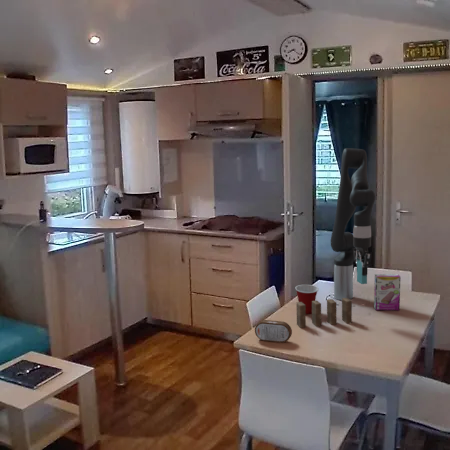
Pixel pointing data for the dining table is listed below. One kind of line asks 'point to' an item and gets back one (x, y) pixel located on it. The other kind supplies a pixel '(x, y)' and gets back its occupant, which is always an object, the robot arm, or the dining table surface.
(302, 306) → the walnut domino
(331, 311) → the walnut domino
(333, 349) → the dining table surface
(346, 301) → the walnut domino
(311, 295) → the plastic cup
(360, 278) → the teal domino
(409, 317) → the dining table surface
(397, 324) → the dining table surface
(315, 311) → the walnut domino
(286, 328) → the tin
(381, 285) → the candy bar box
